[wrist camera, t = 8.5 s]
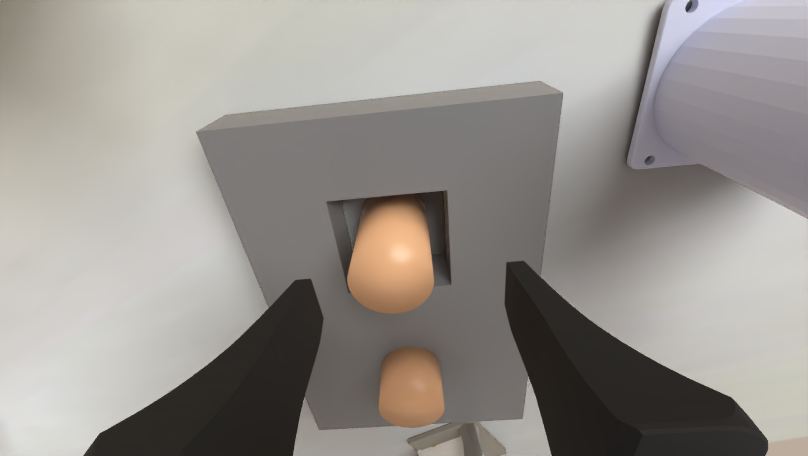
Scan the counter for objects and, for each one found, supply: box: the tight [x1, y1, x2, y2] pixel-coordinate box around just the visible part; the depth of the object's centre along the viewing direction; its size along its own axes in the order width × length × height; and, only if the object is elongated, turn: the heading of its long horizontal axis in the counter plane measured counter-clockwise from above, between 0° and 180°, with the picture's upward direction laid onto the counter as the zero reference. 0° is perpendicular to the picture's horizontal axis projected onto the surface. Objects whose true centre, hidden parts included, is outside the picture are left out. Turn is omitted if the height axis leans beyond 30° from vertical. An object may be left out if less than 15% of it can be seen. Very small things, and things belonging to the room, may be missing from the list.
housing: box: [196, 81, 563, 430], centre depth 21 cm, size 16×24×6 cm, turn 6°
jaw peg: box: [347, 194, 434, 314], centre depth 19 cm, size 4×4×6 cm
